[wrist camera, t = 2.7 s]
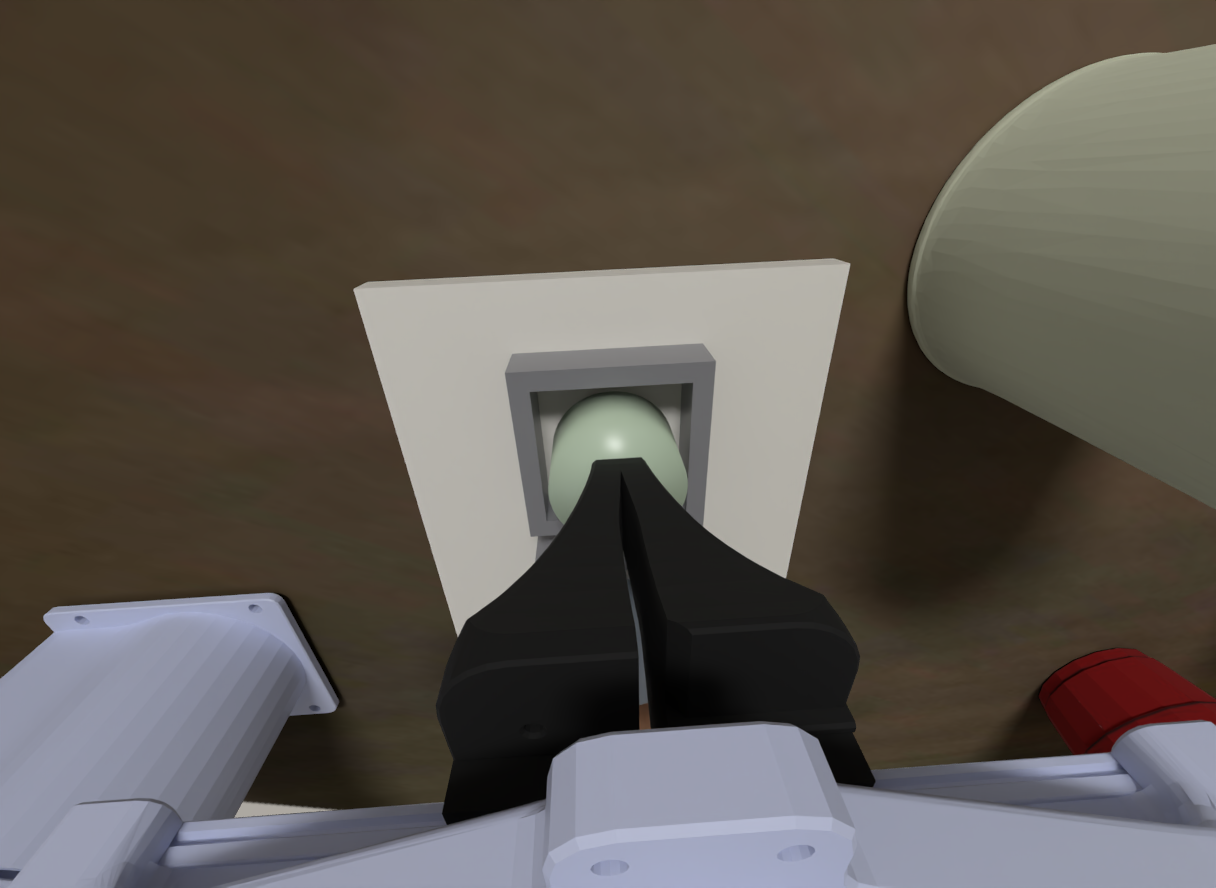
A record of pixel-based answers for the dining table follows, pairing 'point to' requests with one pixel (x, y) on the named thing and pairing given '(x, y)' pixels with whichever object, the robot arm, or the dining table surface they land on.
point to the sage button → (611, 445)
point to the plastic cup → (1118, 698)
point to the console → (594, 363)
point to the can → (1089, 263)
